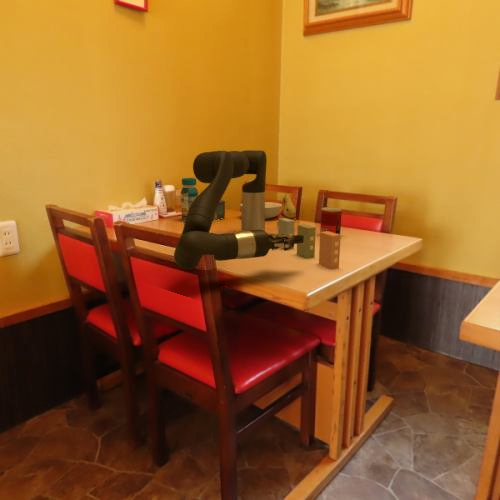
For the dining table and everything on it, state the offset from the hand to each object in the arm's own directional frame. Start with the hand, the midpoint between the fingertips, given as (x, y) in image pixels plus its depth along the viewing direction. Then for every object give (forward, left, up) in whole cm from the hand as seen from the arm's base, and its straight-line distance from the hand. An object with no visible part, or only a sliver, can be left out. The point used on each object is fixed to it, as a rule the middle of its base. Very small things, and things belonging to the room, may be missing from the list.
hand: (301, 238), depth 118 cm
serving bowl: (-19, +85, -10) cm, 87 cm away
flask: (-39, +78, -10) cm, 87 cm away
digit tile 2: (+2, +16, -10) cm, 19 cm away
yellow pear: (-5, +60, -10) cm, 61 cm away
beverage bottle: (-52, +74, -10) cm, 91 cm away
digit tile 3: (+8, +6, -10) cm, 14 cm away
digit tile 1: (-5, +27, -10) cm, 29 cm away
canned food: (+12, +48, -10) cm, 50 cm away
